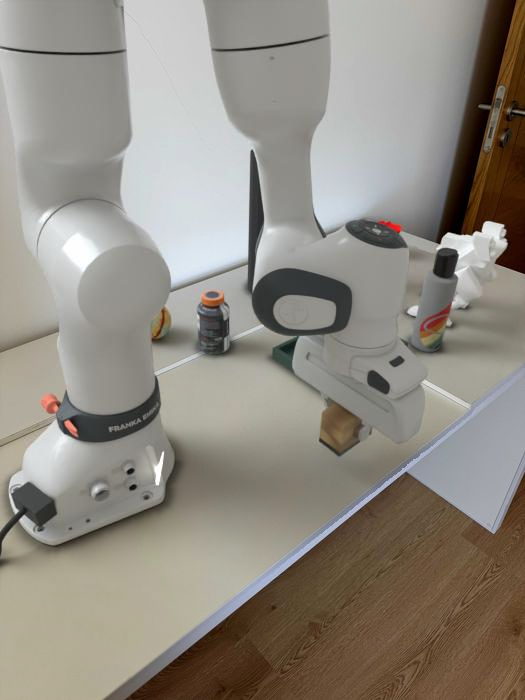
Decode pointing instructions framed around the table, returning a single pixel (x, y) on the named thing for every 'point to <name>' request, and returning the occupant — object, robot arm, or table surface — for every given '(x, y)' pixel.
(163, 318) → the ball
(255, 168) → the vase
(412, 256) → the table surface
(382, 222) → the flower
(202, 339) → the pill bottle
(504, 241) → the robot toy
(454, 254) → the spray bottle
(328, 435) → the tan brown block
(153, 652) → the table surface
